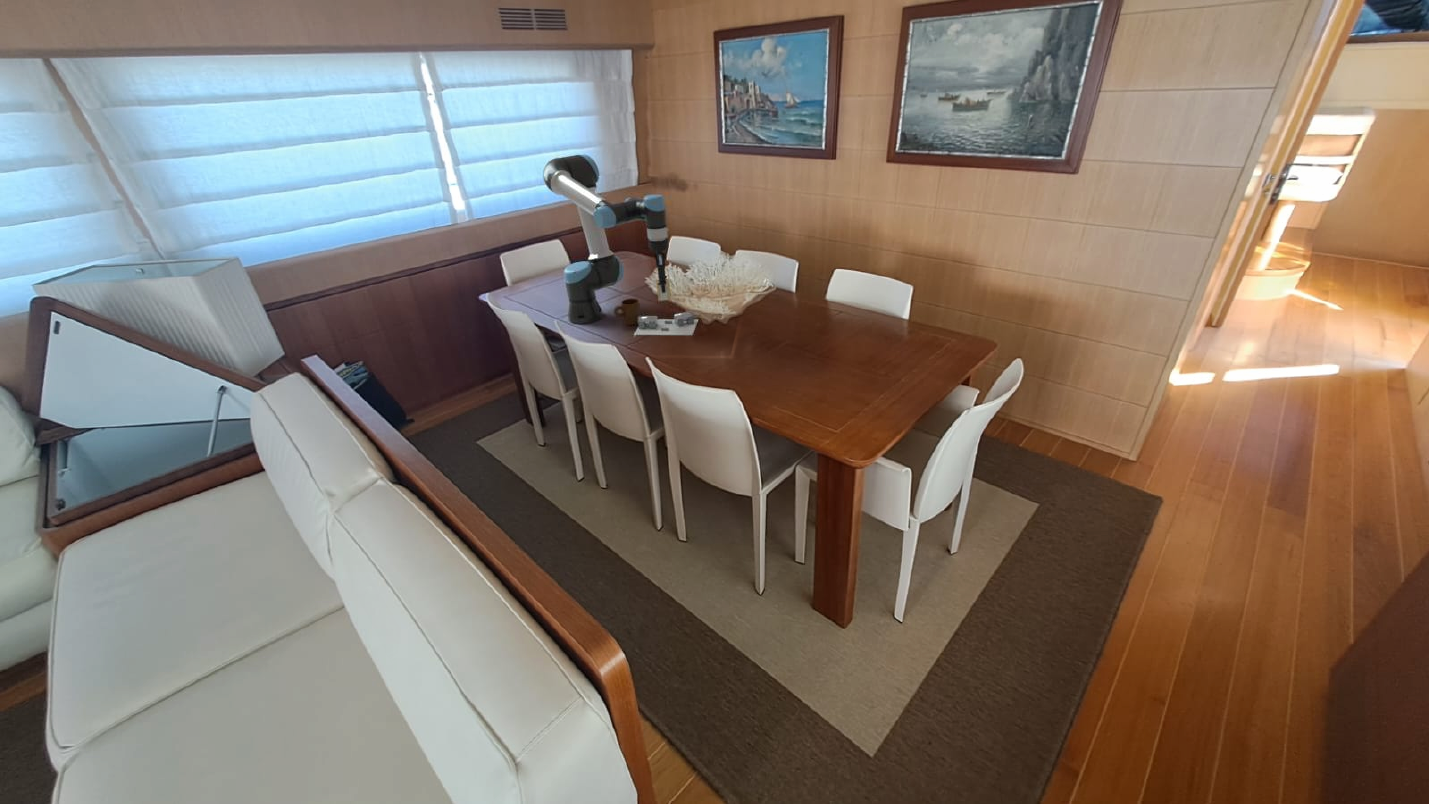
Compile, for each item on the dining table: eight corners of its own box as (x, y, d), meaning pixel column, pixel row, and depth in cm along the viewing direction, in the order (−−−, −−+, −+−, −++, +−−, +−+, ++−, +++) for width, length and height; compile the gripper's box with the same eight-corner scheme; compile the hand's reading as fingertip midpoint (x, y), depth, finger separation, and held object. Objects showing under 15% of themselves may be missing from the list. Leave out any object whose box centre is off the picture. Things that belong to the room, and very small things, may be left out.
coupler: (671, 299, 215) (669, 282, 212) (658, 300, 215) (656, 283, 211) (670, 295, 220) (668, 278, 216) (658, 296, 219) (656, 279, 216)
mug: (621, 330, 226) (618, 309, 221) (611, 325, 231) (608, 304, 226) (645, 322, 232) (642, 301, 228) (635, 317, 237) (632, 297, 233)
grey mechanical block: (638, 328, 223) (636, 318, 221) (641, 324, 227) (639, 314, 225) (656, 329, 222) (654, 318, 220) (658, 324, 226) (657, 314, 224)
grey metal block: (677, 326, 223) (676, 316, 221) (674, 323, 227) (673, 312, 224) (694, 323, 225) (694, 313, 223) (690, 319, 229) (690, 309, 227)
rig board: (634, 337, 219) (633, 332, 218) (643, 321, 233) (642, 316, 232) (692, 337, 216) (692, 332, 215) (698, 322, 230) (698, 317, 228)
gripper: (669, 243, 198) (674, 304, 210) (666, 232, 213) (671, 289, 225) (648, 245, 197) (655, 306, 209) (647, 233, 213) (653, 290, 225)
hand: (664, 297), depth 217 cm, fingers closed on coupler, 5 cm apart
